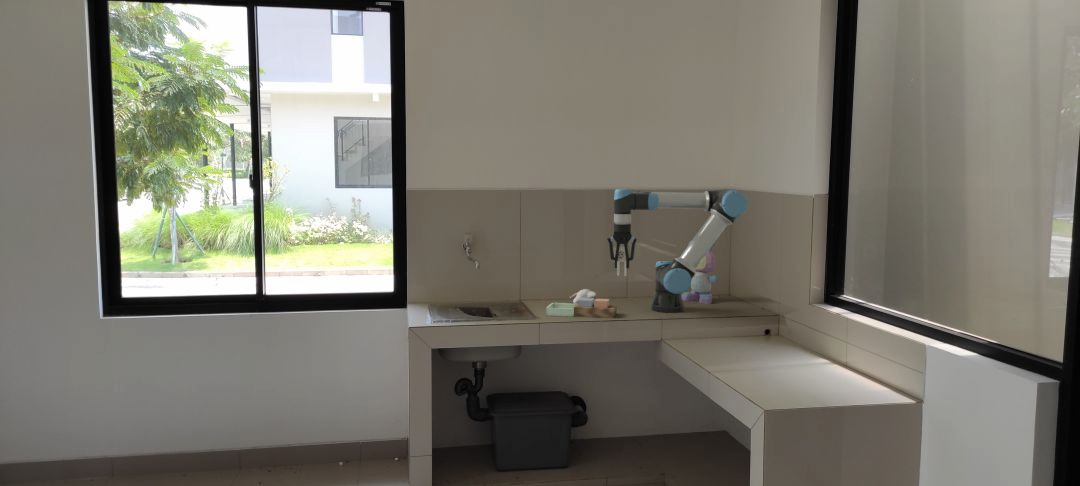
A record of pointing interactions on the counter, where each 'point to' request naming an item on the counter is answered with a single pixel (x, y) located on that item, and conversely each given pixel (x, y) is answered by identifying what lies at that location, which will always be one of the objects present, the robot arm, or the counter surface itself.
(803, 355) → the counter surface
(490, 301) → the counter surface
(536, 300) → the counter surface
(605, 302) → the tile
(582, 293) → the toy
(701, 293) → the toy
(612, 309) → the board
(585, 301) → the tile
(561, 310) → the tray
